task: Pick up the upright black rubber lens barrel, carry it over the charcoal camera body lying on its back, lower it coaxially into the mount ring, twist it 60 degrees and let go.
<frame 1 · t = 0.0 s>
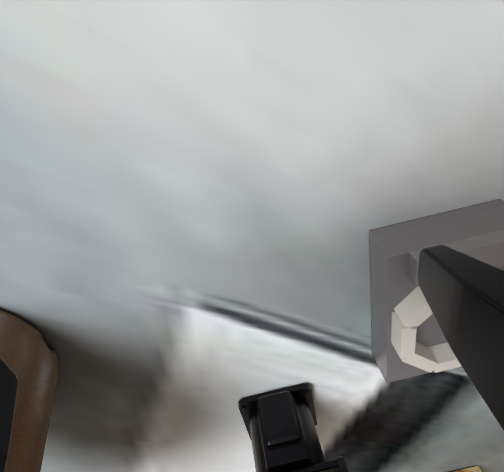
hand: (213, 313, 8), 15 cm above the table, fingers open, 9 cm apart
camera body: (428, 285, 30), on the table
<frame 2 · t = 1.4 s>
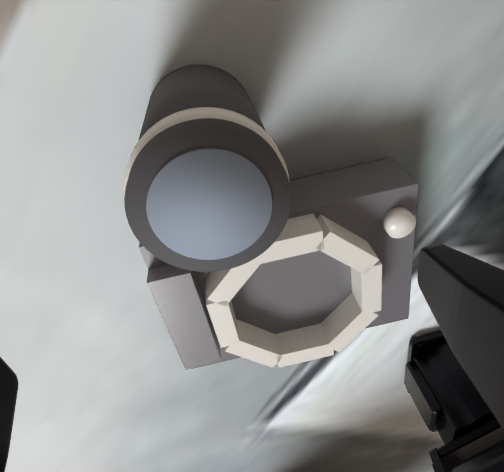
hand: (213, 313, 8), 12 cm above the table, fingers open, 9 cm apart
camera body: (279, 253, 23), on the table
lens: (201, 120, 18), on the table
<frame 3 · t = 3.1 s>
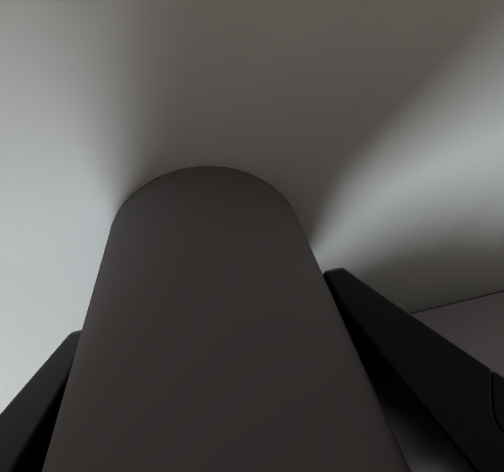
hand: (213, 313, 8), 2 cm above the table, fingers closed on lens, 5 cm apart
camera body: (329, 414, 15), on the table
lens: (208, 254, 10), on the table, touching gripper
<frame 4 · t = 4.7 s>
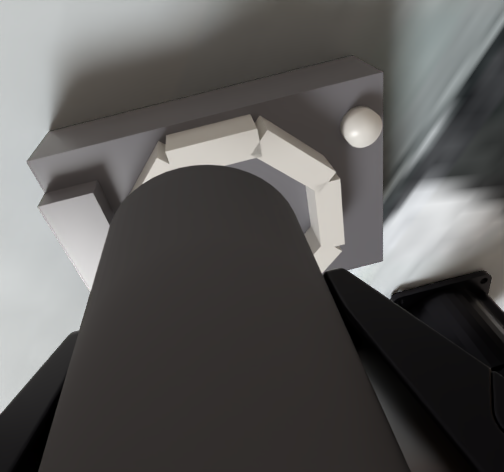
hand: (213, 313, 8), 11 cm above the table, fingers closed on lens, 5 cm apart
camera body: (226, 186, 19), on the table
lens: (207, 253, 10), point 9 cm above the table, touching gripper
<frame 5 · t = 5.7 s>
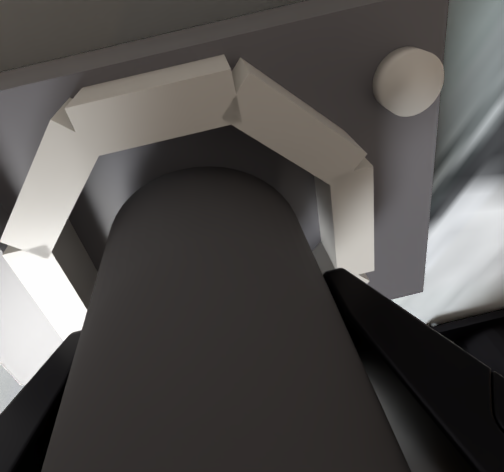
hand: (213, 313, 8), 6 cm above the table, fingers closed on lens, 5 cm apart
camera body: (199, 181, 13), on the table
lens: (208, 255, 10), point 4 cm above the table, touching gripper
when the fingers open (5 cm above the table, at t = 6.6 s): lens stays where it is, resting on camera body.
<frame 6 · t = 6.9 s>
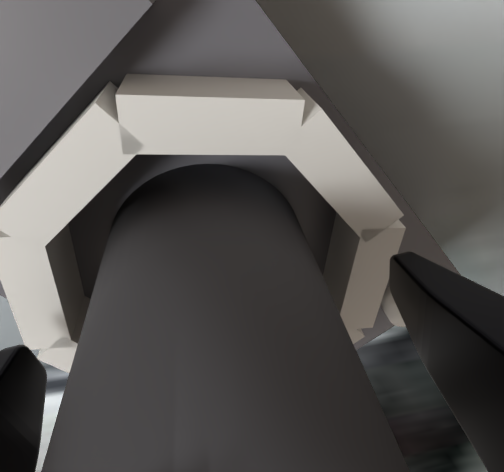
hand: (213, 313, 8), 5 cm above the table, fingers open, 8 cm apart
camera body: (203, 195, 12), on the table
lens: (207, 251, 10), point 3 cm above the table, touching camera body
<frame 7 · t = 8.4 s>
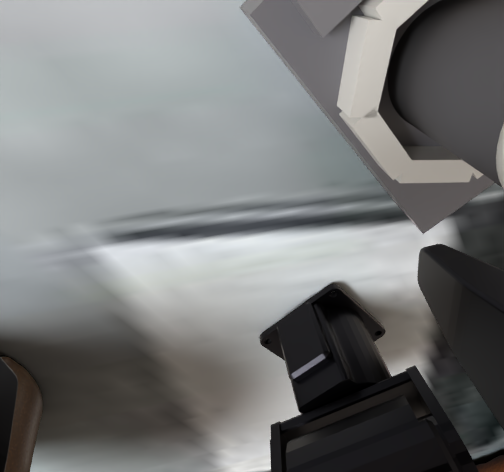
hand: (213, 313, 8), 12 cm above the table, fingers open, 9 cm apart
sunglasses case: (462, 469, 45), on the table
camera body: (411, 52, 18), on the table
lens: (448, 66, 15), point 3 cm above the table, touching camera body
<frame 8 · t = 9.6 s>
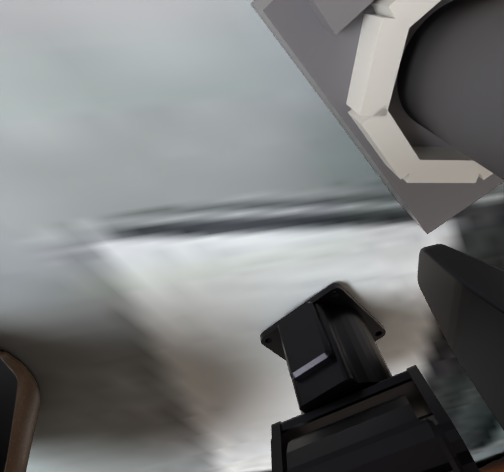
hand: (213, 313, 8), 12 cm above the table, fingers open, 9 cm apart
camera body: (419, 53, 18), on the table
lens: (457, 67, 15), point 3 cm above the table, touching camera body
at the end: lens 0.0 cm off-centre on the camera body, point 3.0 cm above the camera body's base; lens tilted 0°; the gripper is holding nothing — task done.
